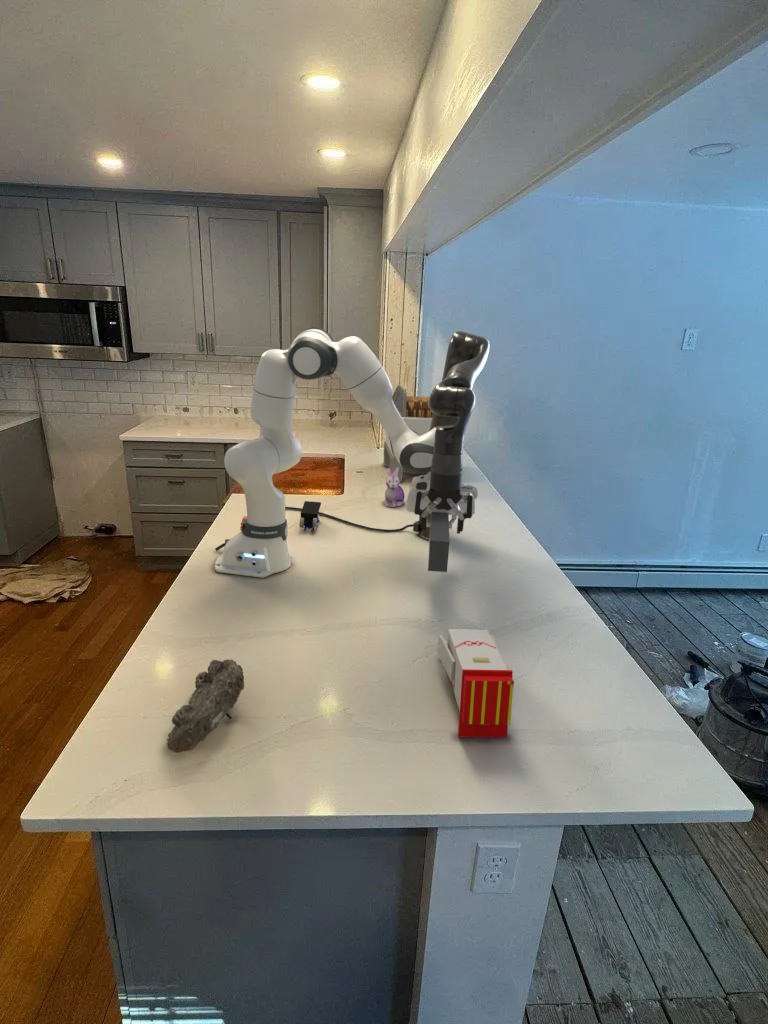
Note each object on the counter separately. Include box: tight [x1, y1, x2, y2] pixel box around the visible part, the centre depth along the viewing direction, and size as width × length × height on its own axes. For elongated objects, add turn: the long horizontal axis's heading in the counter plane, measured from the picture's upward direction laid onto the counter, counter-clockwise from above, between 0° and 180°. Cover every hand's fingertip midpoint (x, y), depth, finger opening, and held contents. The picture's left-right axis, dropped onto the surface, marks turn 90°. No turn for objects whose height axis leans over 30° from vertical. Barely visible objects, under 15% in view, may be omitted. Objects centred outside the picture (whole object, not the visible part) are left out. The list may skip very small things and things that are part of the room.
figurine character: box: [299, 500, 322, 533], centre depth 201 cm, size 7×8×15 cm
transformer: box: [383, 384, 433, 483], centre depth 268 cm, size 34×33×41 cm
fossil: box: [166, 658, 245, 754], centre depth 106 cm, size 22×10×15 cm
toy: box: [437, 628, 515, 738], centre depth 117 cm, size 12×13×30 cm
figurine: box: [383, 467, 405, 508], centre depth 227 cm, size 9×10×15 cm
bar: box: [427, 512, 451, 573], centre depth 159 cm, size 26×5×9 cm, turn 175°
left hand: (438, 527), depth 169 cm, fingers closed on bar, 5 cm apart
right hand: (441, 531), depth 144 cm, fingers open, 8 cm apart
